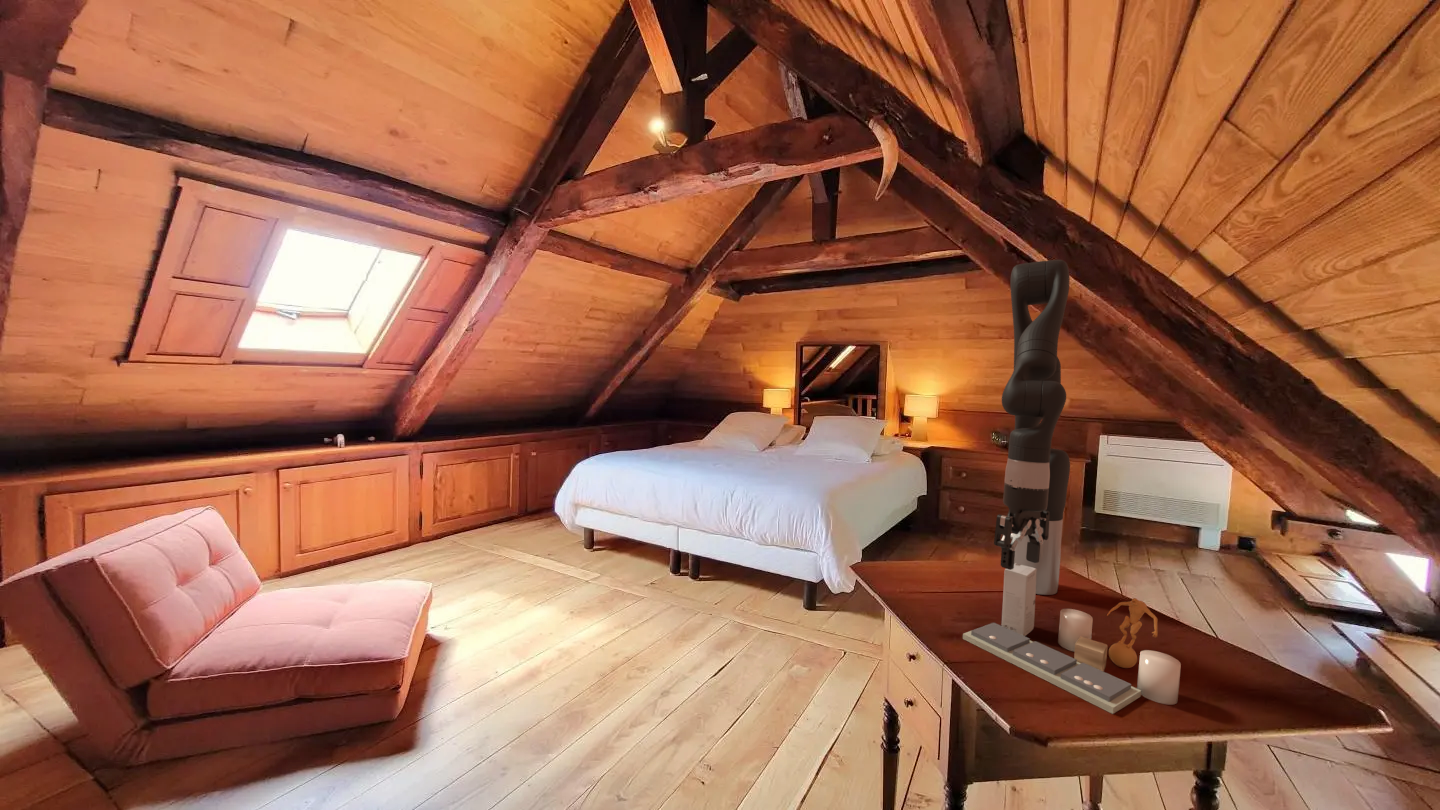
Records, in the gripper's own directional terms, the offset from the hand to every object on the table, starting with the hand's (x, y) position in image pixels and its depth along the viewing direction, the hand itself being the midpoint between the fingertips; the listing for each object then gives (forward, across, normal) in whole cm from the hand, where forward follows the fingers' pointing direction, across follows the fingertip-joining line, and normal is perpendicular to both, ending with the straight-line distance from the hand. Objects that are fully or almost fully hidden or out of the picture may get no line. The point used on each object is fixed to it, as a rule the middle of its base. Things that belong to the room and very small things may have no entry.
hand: (1019, 564), depth 106 cm
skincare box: (+13, 0, 0) cm, 13 cm away
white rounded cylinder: (+13, -4, +9) cm, 16 cm away
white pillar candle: (+13, +1, +24) cm, 27 cm away
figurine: (+13, -5, +17) cm, 22 cm away
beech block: (+13, +1, +14) cm, 19 cm away
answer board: (+13, +8, +10) cm, 19 cm away
